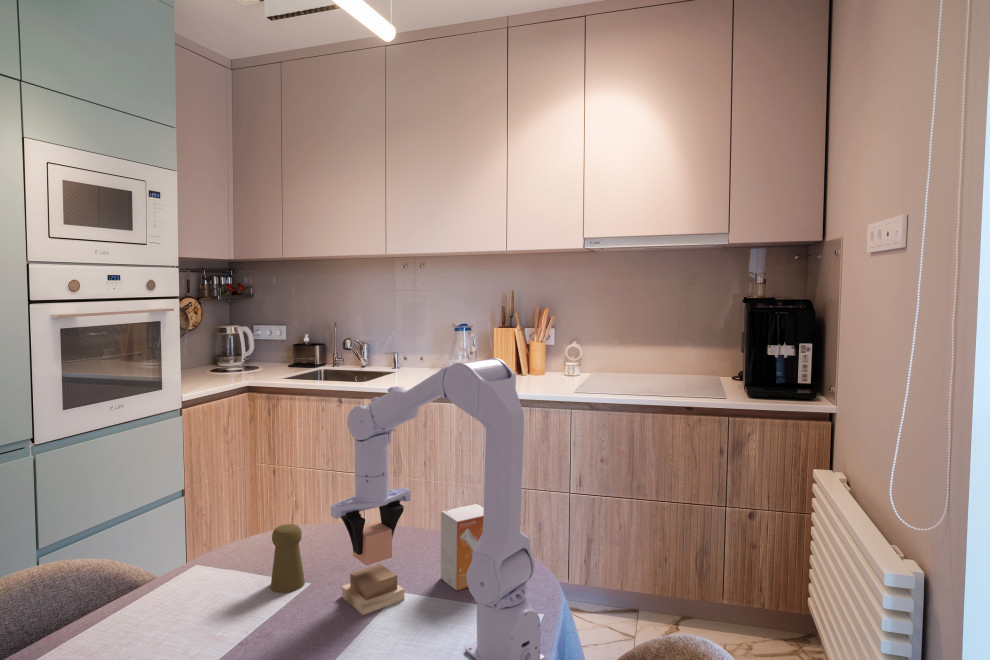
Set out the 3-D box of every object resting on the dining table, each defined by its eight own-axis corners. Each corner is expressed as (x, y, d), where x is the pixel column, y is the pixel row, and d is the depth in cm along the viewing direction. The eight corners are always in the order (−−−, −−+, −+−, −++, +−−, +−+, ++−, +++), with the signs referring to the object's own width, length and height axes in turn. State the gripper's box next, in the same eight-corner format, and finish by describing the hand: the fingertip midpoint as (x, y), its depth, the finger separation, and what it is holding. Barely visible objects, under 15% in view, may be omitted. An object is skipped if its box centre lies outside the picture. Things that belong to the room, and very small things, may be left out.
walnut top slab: (397, 589, 105) (397, 575, 105) (366, 600, 101) (366, 585, 101) (380, 576, 110) (380, 563, 110) (350, 587, 106) (350, 573, 106)
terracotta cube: (392, 557, 105) (391, 529, 105) (366, 565, 102) (365, 536, 102) (378, 548, 109) (378, 521, 109) (352, 555, 106) (352, 527, 106)
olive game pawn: (262, 588, 109) (261, 529, 109) (288, 574, 115) (287, 518, 114) (286, 595, 107) (285, 535, 106) (311, 581, 112) (311, 523, 111)
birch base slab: (404, 602, 106) (404, 589, 105) (363, 618, 100) (363, 604, 100) (381, 586, 112) (381, 572, 112) (341, 599, 107) (341, 586, 106)
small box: (456, 592, 108) (456, 521, 108) (439, 578, 114) (439, 510, 113) (493, 580, 113) (494, 512, 112) (476, 567, 118) (476, 502, 117)
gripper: (396, 460, 113) (396, 531, 113) (322, 474, 103) (323, 551, 104) (416, 468, 107) (416, 543, 108) (340, 484, 98) (341, 566, 99)
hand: (372, 548), depth 106 cm, fingers closed on terracotta cube, 5 cm apart
